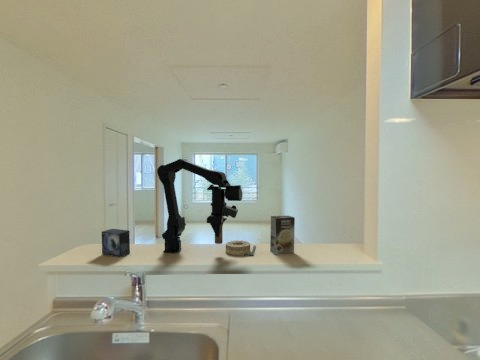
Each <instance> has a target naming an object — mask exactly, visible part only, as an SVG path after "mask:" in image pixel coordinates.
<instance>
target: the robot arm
mask: <svg viewBox="0 0 480 360" xmlns="http://www.w3.org/2000/svg"><path fill="white" fill-rule="evenodd" d="M182 170H184V171H188V172H190V173H193V174H195V175H197V176H199V177H201V178H204V179H205V180H206V181H207V182H209V183H210V185H209V186H208V187H207V188H206V190H207V191H211V203H210V206H211V212H210V215H208V216H207V217H206V224H210V226H211V228H212V230H213V232H214V236H215V235H216V237H219V234H220V227H221V224H222V227H223V226H224V222H225V221H226V220H227V219H228V218H229V217H231V218H233V219H235V218H237V215H238V212H239V209H238V208H237V206H236V205H234V204H233V205H232V206H229V205H227V202H226V199H227V201H228V202H229V201H232V202H241V201H242V199H243V190H242V185H241V184H237V185H231V183H230V182H229V181H228V179H227V175H226V173H225V172H223V171H219V170H215V169H210V168H209V169H208V168H206V167H203V166H201V165H199V164H196V163H193V162H190V161H188V160H187V159H186V158H185V159H184V158H178V159H176V160H175V161H172V162H170V163H166V164H160V166H158V168H157V170H156V174H157V177H158V179H159V181H160V182H161V184H162V186H163V192H164V197H165V202H166V209H167V214H168V216H167V221H166V230H165V231H164V232H163V233H162V234H161V236H162V239H163V240H164V250H163V253H178V252H179V251H181V250H182V240H181V236H182V234H183V232H184V231H185V230H186V226H187V224H186V221H185V219H186V218H185V216H183V217H182V216H181V214H180V212H179V206H178V200H177V199H178V198H177V193H176V188H175V182H176V181H175V180H176V173H178V172H180V171H182Z"/></svg>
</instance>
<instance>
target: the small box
mask: <svg viewBox="0 0 480 360" xmlns="http://www.w3.org/2000/svg"><path fill="white" fill-rule="evenodd" d="M130 240H131V239H130V230H129V229H128V230H127V229H121V228H120V229H117V228H110V229H106V230H102V231H101V250H102V251H101V255H102V256H103V255H104V256H109V257H115V258H122V257H124V255H125V256H127V255H130V254H131V250H130V249H131V247H130V245H131V244H130V242H131V241H130ZM129 253H130V254H129Z"/></svg>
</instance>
